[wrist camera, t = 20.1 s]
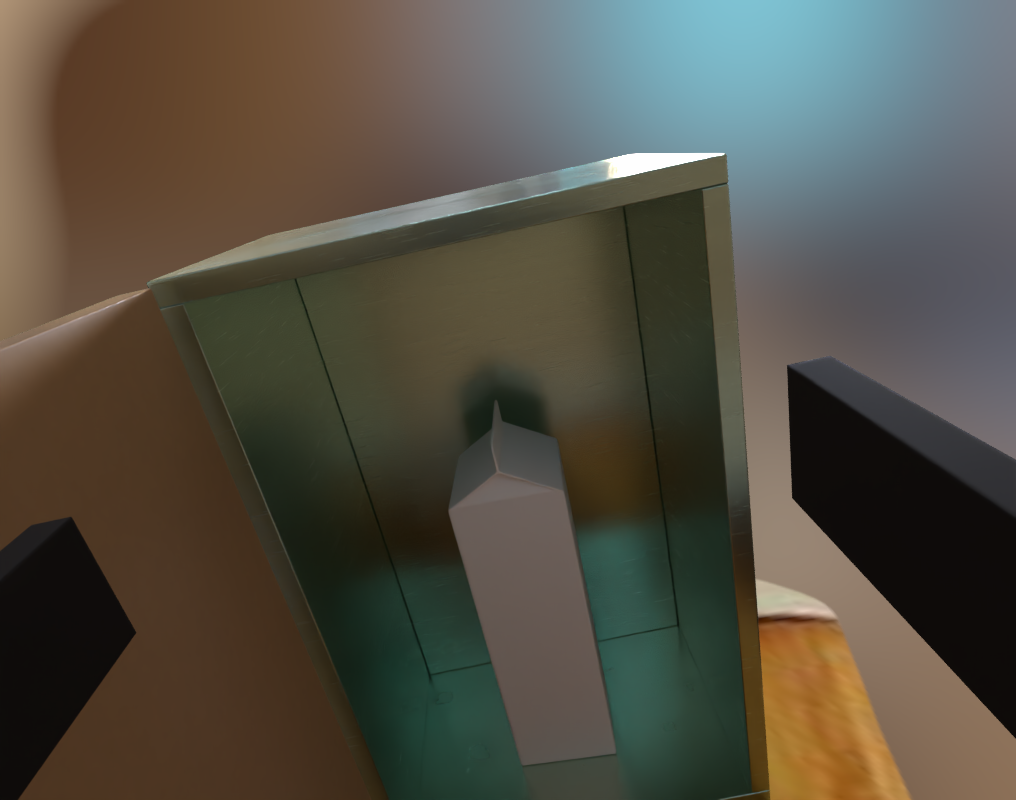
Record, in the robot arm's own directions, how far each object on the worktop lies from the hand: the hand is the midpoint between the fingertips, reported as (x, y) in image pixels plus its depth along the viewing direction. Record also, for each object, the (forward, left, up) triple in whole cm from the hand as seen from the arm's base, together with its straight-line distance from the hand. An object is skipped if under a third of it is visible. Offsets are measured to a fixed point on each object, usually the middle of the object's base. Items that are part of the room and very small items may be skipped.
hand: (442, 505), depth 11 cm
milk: (0, +20, -29) cm, 35 cm away
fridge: (0, +20, -30) cm, 36 cm away
